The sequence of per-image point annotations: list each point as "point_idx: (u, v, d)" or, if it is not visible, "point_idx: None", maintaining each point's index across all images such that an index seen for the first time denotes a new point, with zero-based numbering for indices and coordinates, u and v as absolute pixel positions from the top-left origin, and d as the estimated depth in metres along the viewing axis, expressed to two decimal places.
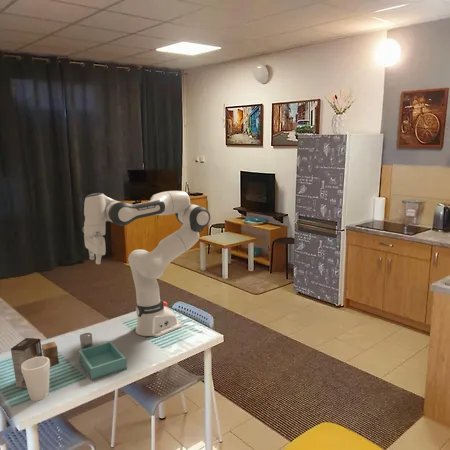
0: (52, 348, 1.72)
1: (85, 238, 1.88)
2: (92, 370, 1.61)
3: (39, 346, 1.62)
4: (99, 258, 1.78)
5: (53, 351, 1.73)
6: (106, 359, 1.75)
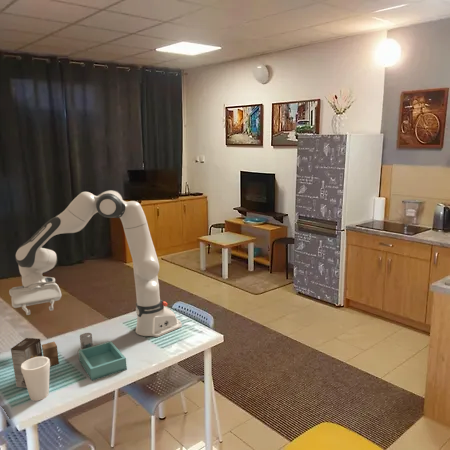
0: (52, 348, 1.72)
1: None
2: (92, 370, 1.61)
3: (39, 346, 1.62)
4: (24, 309, 1.79)
5: (53, 351, 1.73)
6: (106, 359, 1.75)
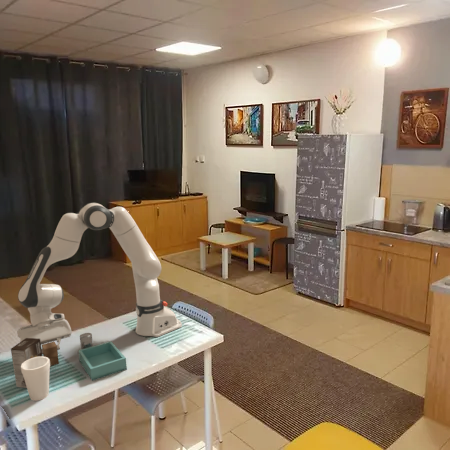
0: (52, 348, 1.72)
1: None
2: (92, 370, 1.61)
3: (39, 346, 1.62)
4: None
5: (53, 351, 1.73)
6: (106, 359, 1.75)
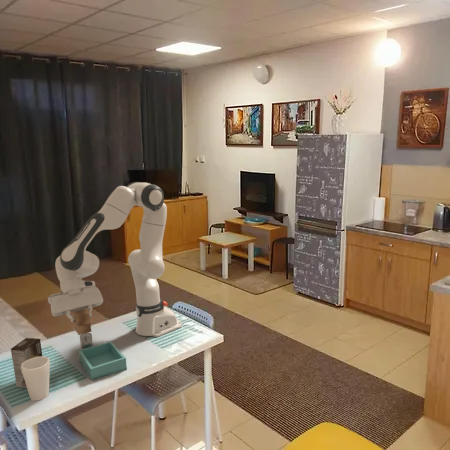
0: (84, 314, 1.65)
1: None
2: (92, 370, 1.61)
3: (39, 346, 1.62)
4: (68, 316, 1.67)
5: (85, 318, 1.66)
6: (106, 359, 1.75)
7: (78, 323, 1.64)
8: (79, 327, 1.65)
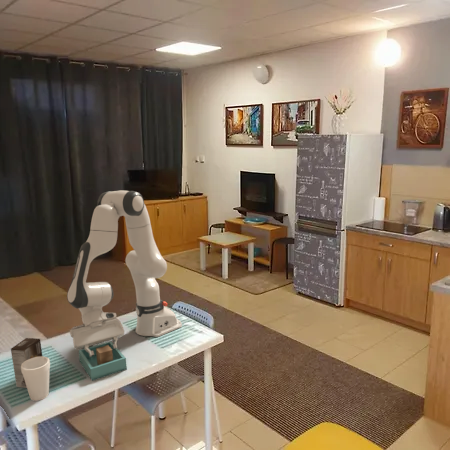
0: (107, 351, 1.66)
1: None
2: (92, 370, 1.61)
3: (39, 346, 1.62)
4: (87, 350, 1.66)
5: (108, 355, 1.66)
6: None
7: (101, 360, 1.65)
8: None
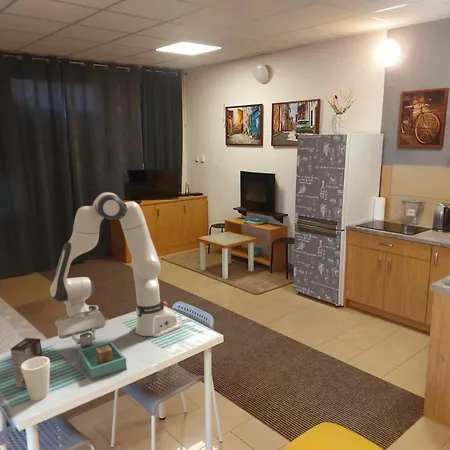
0: (107, 351, 1.66)
1: None
2: (92, 370, 1.61)
3: (39, 346, 1.62)
4: (74, 338, 1.82)
5: (108, 355, 1.66)
6: None
7: (101, 360, 1.65)
8: None
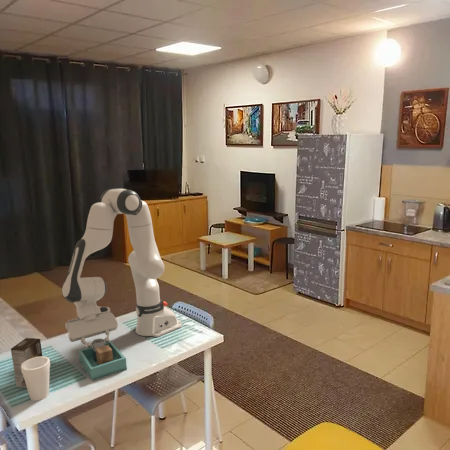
0: (107, 351, 1.66)
1: None
2: (92, 370, 1.61)
3: (39, 346, 1.62)
4: (83, 342, 1.73)
5: (108, 355, 1.66)
6: None
7: (101, 360, 1.65)
8: None
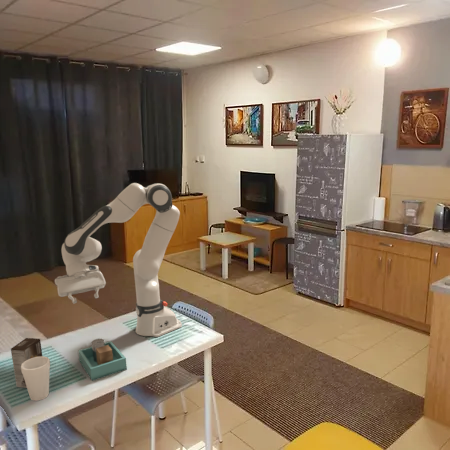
0: (107, 351, 1.66)
1: None
2: (92, 370, 1.61)
3: (39, 346, 1.62)
4: (70, 297, 1.79)
5: (108, 355, 1.66)
6: None
7: (101, 360, 1.65)
8: None
